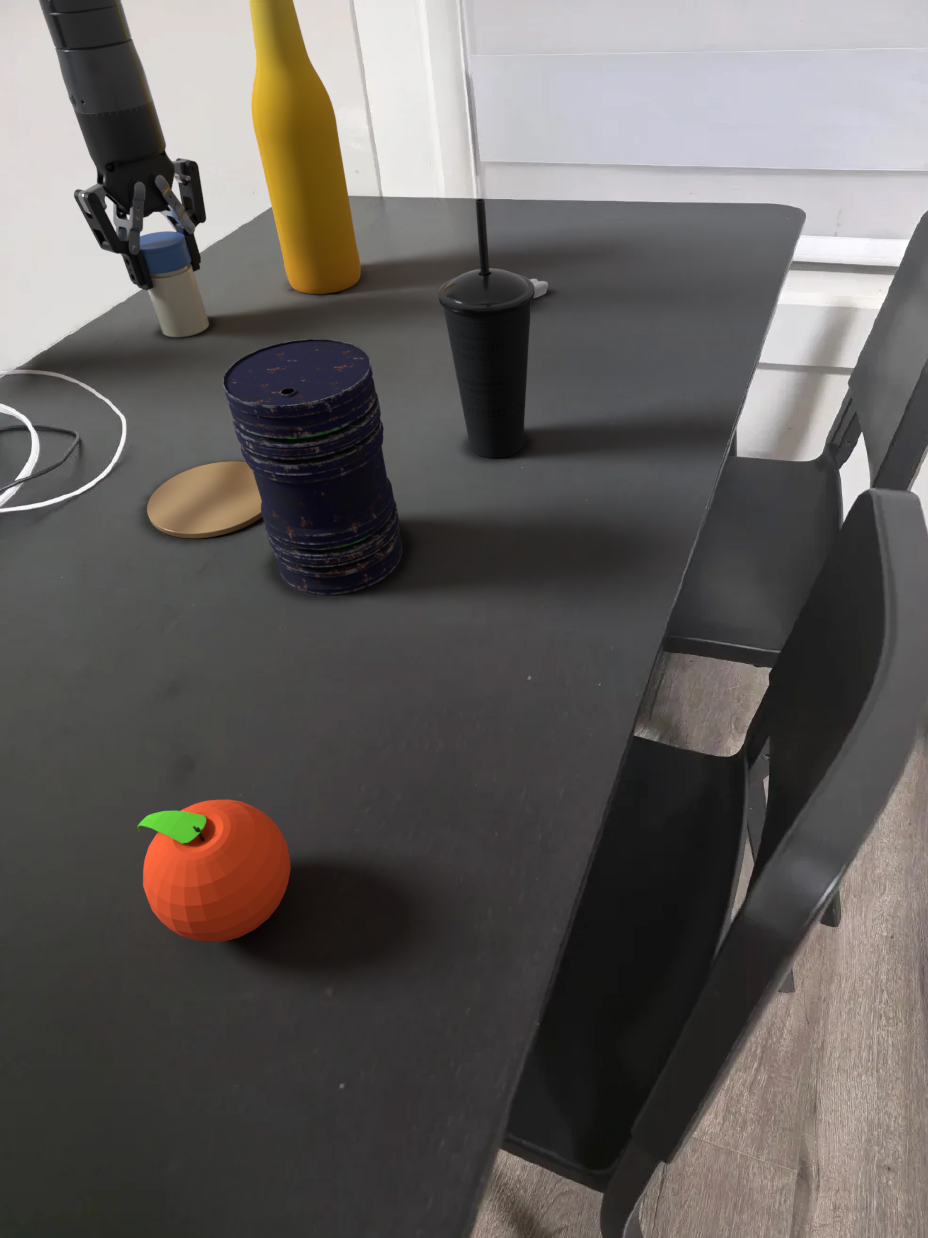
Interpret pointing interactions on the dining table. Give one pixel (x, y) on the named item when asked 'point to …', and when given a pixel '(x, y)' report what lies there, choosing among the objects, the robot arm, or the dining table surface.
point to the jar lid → (164, 251)
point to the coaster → (206, 501)
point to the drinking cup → (490, 349)
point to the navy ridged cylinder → (317, 462)
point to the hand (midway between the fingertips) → (169, 277)
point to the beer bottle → (301, 155)
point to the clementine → (215, 869)
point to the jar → (178, 303)
